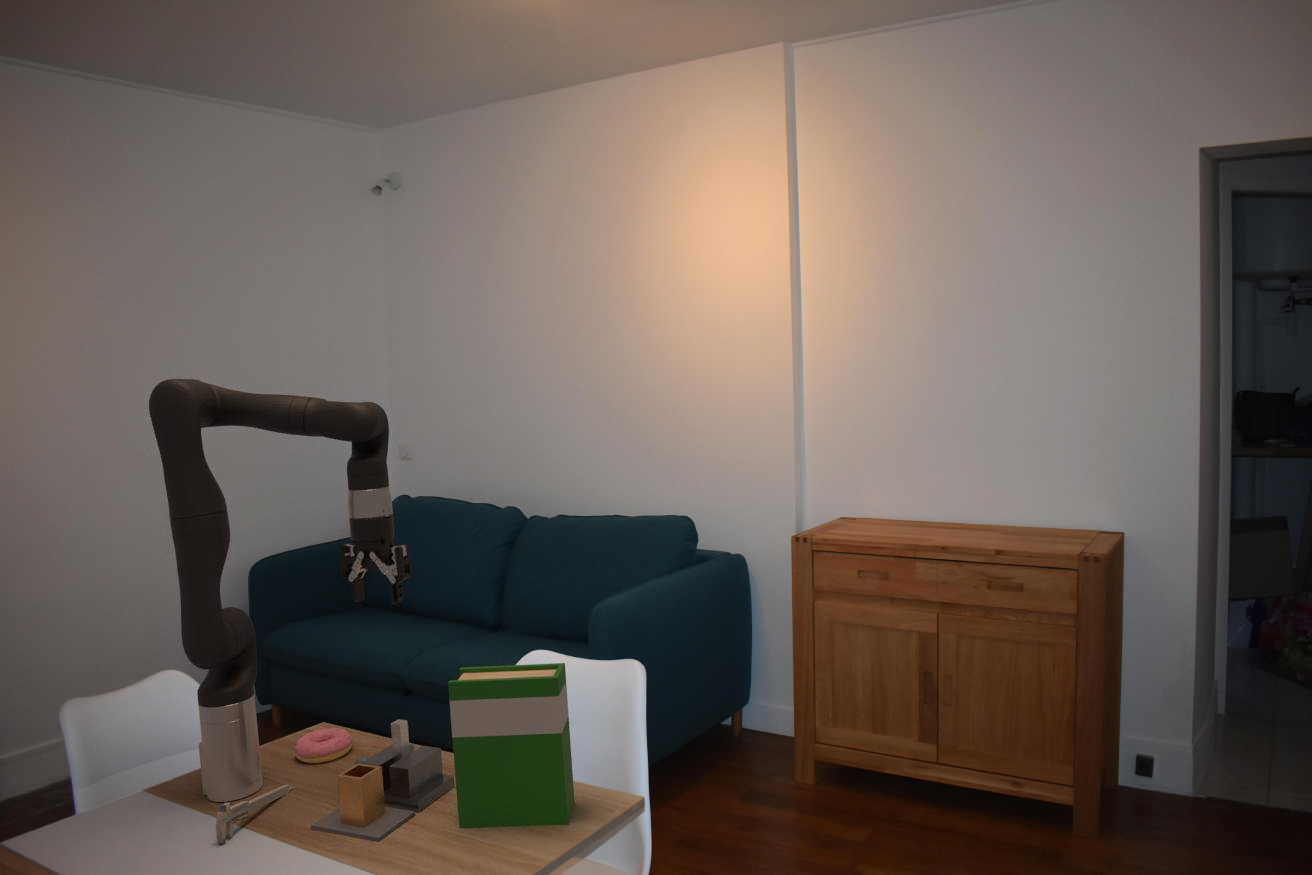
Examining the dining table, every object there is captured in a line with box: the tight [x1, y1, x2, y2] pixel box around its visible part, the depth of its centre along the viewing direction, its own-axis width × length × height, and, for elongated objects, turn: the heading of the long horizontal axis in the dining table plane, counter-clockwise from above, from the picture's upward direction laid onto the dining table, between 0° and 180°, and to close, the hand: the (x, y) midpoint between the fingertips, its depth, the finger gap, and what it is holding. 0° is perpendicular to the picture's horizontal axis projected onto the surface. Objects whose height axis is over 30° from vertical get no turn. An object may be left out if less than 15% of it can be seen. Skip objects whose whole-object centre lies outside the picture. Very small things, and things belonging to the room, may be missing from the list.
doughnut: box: [293, 727, 353, 764], centre depth 180 cm, size 11×11×4 cm
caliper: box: [215, 784, 295, 845], centre depth 155 cm, size 20×1×6 cm, turn 171°
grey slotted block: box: [354, 718, 456, 813], centre depth 159 cm, size 17×10×13 cm, turn 67°
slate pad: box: [310, 806, 416, 843], centre depth 150 cm, size 14×9×1 cm, turn 67°
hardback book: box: [447, 662, 576, 829], centre depth 148 cm, size 18×7×24 cm, turn 87°
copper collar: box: [336, 763, 386, 828], centre depth 149 cm, size 5×5×8 cm
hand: (378, 601), depth 163 cm, fingers open, 8 cm apart
